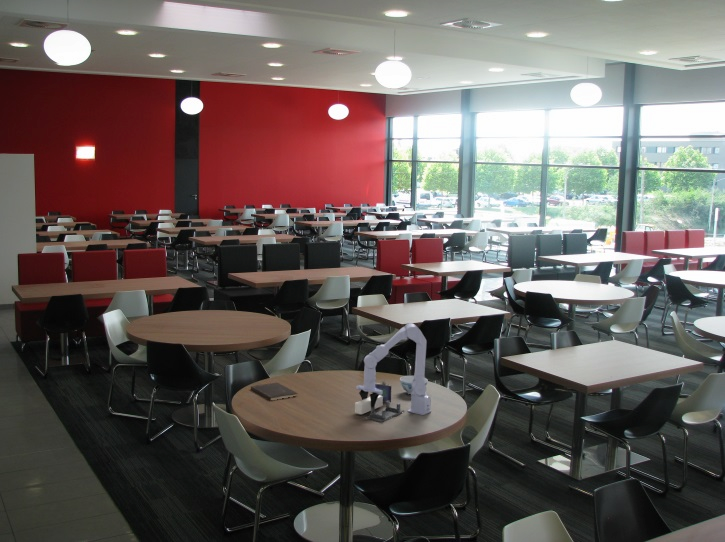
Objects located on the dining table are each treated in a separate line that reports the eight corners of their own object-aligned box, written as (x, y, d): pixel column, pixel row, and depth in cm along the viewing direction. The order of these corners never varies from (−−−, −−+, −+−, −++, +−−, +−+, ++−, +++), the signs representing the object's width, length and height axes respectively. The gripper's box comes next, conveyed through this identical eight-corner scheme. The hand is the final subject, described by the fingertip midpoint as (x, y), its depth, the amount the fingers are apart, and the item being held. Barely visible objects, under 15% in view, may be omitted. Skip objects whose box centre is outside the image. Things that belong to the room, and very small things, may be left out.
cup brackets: (403, 412, 361) (404, 402, 360) (381, 422, 345) (381, 412, 344) (389, 408, 366) (389, 399, 365) (366, 418, 350) (366, 408, 349)
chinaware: (428, 397, 386) (428, 383, 385) (399, 396, 386) (400, 382, 385) (426, 389, 401) (426, 376, 400) (398, 388, 401) (399, 375, 400)
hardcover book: (277, 386, 401) (277, 382, 400) (297, 397, 382) (297, 393, 381) (250, 390, 392) (250, 386, 391) (270, 401, 373) (270, 397, 372)
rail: (382, 405, 367) (382, 396, 366) (361, 414, 352) (361, 404, 352) (376, 404, 369) (376, 394, 369) (354, 412, 355) (355, 402, 354)
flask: (373, 400, 379) (374, 380, 378) (375, 398, 382) (376, 378, 380) (389, 403, 375) (390, 382, 374) (392, 401, 378) (392, 381, 376)
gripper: (352, 378, 360) (352, 405, 362) (377, 383, 352) (376, 411, 353) (361, 375, 366) (360, 401, 367) (385, 380, 357) (384, 407, 359)
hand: (368, 406), depth 361 cm, fingers closed on rail, 4 cm apart
